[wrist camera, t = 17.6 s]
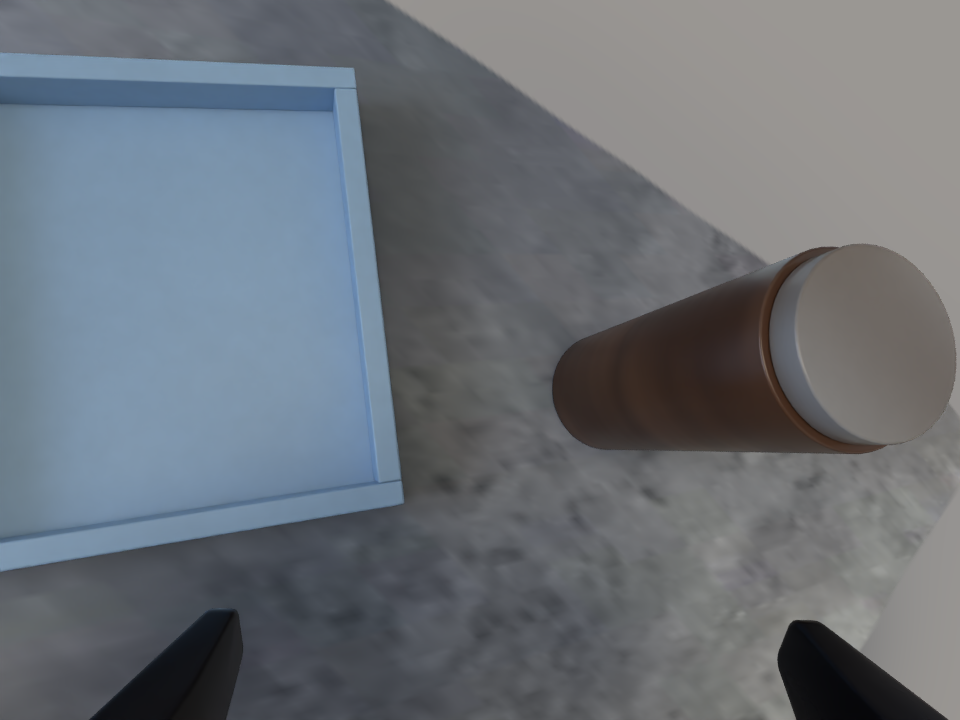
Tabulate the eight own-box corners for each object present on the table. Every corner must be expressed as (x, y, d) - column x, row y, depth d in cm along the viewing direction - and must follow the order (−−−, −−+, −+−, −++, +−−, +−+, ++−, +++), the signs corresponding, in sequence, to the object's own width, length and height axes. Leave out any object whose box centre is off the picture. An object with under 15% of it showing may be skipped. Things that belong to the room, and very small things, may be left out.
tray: (396, 498, 22) (405, 504, 19) (-50, 571, 18) (-99, 588, 16) (350, 101, 23) (354, 67, 21) (-67, 89, 19) (-113, 47, 17)
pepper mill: (639, 465, 24) (948, 485, 13) (537, 426, 23) (767, 407, 12) (667, 359, 25) (977, 285, 14) (571, 318, 25) (813, 198, 13)
